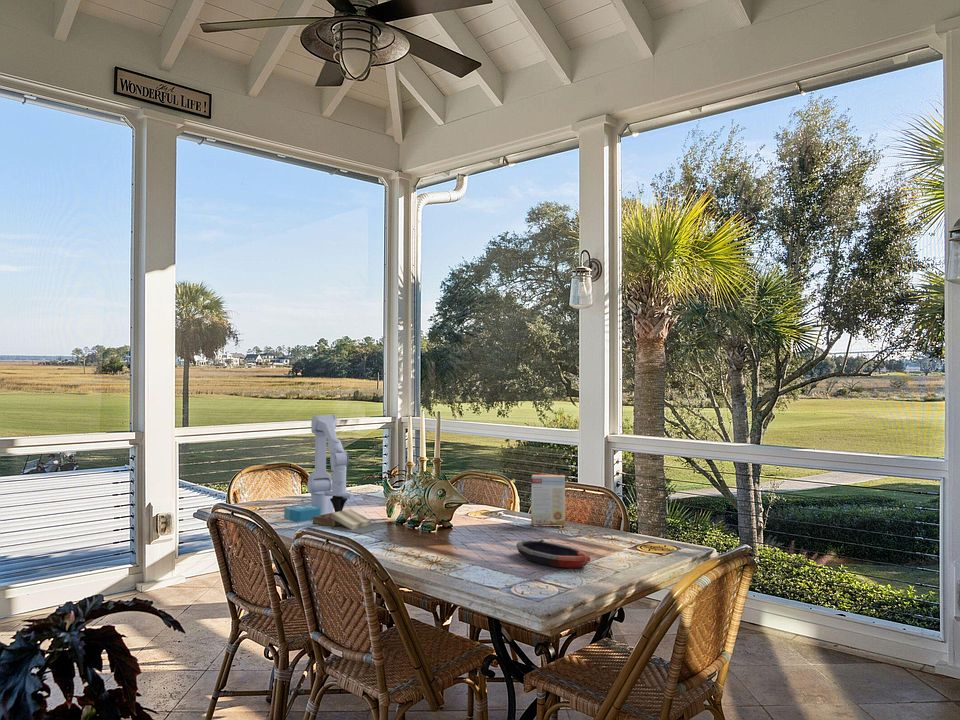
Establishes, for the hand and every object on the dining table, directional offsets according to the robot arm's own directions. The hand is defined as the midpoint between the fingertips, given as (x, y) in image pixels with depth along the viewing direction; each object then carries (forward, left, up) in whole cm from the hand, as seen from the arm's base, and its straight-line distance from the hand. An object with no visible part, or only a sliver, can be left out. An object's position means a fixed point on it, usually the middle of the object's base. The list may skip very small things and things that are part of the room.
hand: (338, 515), depth 302 cm
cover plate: (0, +6, -2) cm, 7 cm away
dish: (+2, +98, -4) cm, 99 cm away
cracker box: (-50, +70, -4) cm, 87 cm away
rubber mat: (0, +11, -4) cm, 12 cm away
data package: (+6, -22, -2) cm, 23 cm away
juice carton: (-27, +22, -4) cm, 35 cm away
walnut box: (0, -3, -4) cm, 5 cm away
